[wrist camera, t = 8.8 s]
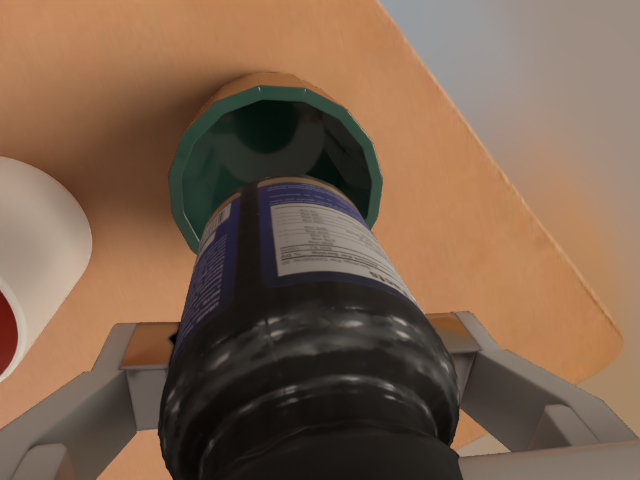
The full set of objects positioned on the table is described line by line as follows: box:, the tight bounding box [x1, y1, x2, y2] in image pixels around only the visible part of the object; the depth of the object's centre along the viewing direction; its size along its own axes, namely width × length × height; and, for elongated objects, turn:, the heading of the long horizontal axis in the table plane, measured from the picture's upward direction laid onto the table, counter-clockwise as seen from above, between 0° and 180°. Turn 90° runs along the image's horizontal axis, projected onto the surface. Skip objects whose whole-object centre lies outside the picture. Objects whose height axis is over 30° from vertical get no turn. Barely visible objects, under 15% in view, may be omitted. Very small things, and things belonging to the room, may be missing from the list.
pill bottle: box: [158, 173, 463, 480], centre depth 10 cm, size 6×6×11 cm
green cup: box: [168, 72, 383, 255], centre depth 23 cm, size 10×10×8 cm
